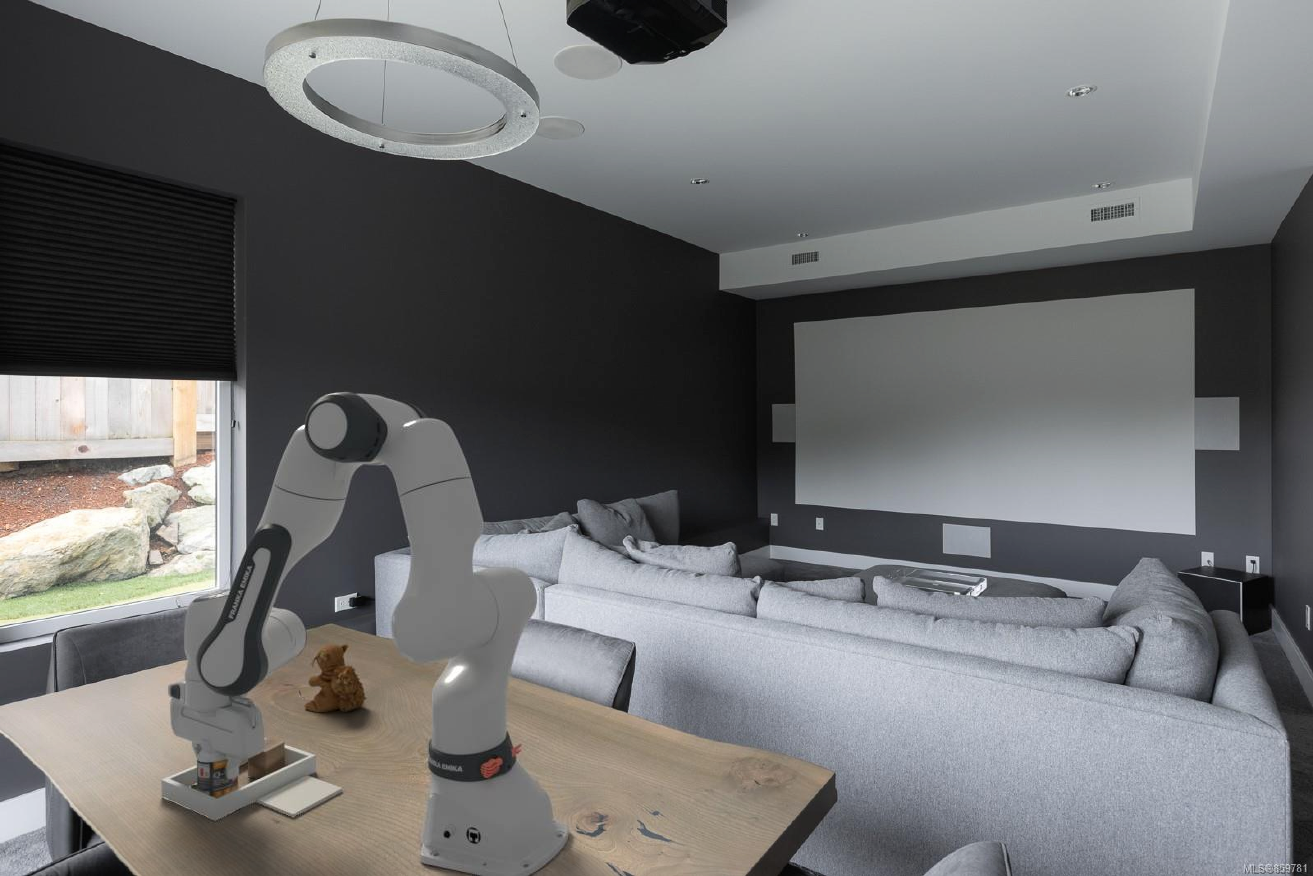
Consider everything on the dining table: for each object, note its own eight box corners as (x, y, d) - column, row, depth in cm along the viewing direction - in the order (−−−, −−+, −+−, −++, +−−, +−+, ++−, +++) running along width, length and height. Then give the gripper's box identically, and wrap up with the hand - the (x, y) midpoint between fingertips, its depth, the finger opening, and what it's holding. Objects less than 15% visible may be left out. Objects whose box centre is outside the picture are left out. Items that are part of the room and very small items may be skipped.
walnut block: (284, 769, 127) (284, 742, 127) (266, 780, 123) (265, 752, 123) (266, 766, 128) (266, 738, 128) (248, 777, 125) (247, 748, 124)
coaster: (342, 791, 120) (342, 788, 120) (293, 818, 112) (293, 814, 112) (306, 778, 124) (306, 775, 124) (257, 803, 116) (256, 799, 116)
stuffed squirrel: (341, 692, 162) (340, 635, 162) (380, 706, 155) (380, 646, 154) (298, 707, 154) (298, 647, 154) (338, 723, 146) (337, 659, 146)
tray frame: (315, 771, 126) (315, 755, 126) (215, 821, 111) (215, 802, 111) (263, 753, 133) (263, 737, 133) (161, 797, 117) (161, 779, 117)
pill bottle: (219, 806, 115) (218, 745, 115) (188, 802, 116) (188, 742, 116) (246, 788, 121) (245, 730, 120) (217, 784, 122) (216, 727, 121)
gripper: (275, 694, 116) (275, 778, 116) (200, 672, 125) (201, 750, 126) (236, 708, 110) (237, 796, 111) (161, 684, 120) (162, 765, 120)
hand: (217, 771), depth 118 cm, fingers closed on pill bottle, 6 cm apart
